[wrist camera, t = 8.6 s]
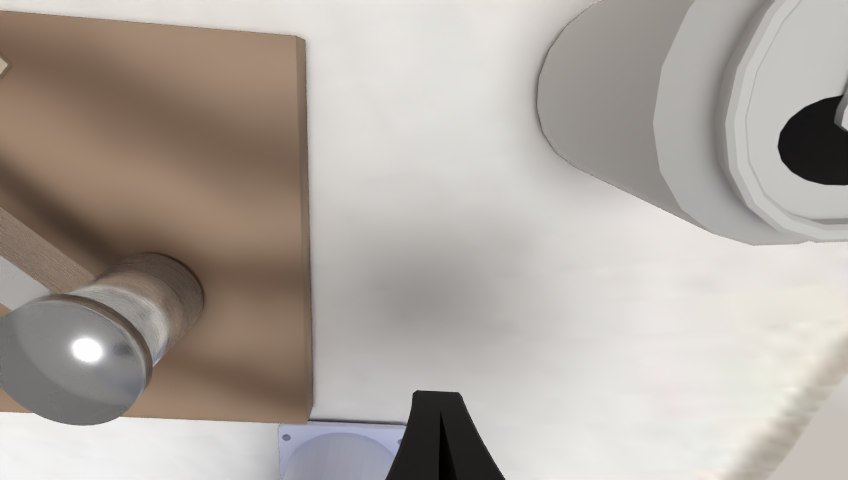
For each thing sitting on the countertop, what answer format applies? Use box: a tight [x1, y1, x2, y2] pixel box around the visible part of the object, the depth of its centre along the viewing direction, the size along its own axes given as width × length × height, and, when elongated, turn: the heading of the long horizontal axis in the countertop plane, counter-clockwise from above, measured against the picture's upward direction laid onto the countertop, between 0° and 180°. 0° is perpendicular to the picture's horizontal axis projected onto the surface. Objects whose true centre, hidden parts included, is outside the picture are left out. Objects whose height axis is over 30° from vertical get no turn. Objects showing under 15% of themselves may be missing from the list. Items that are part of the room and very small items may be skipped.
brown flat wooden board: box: [0, 10, 313, 424], centre depth 20 cm, size 21×20×2 cm
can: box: [537, 0, 848, 246], centre depth 13 cm, size 8×8×12 cm
